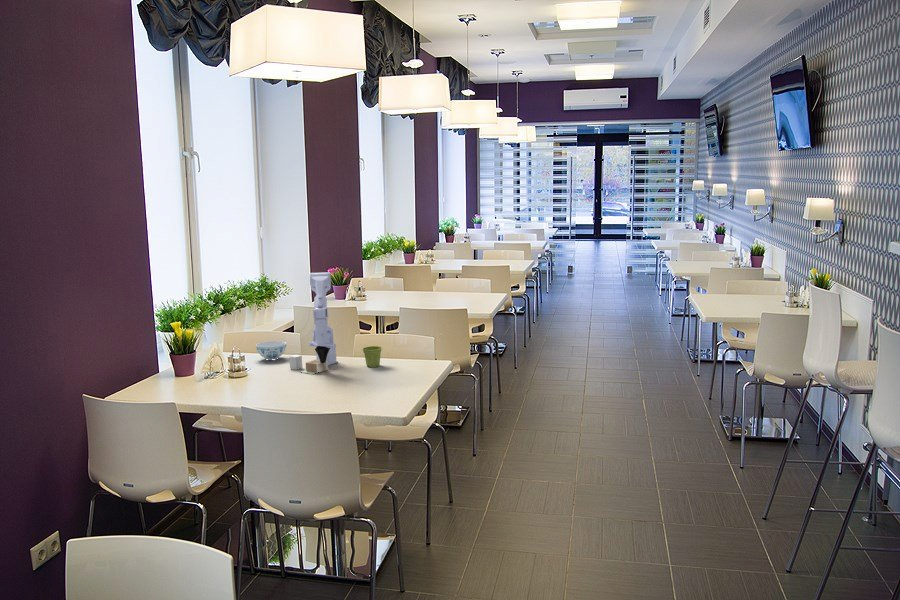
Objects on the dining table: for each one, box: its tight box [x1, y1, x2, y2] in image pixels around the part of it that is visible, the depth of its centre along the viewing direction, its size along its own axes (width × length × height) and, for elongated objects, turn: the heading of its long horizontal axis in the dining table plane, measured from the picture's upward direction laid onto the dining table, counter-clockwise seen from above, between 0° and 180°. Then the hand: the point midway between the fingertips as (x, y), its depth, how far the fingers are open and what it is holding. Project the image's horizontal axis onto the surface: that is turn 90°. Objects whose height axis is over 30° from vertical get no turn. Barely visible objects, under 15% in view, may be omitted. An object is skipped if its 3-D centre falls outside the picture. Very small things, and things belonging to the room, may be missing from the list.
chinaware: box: [255, 340, 287, 360], centre depth 391 cm, size 15×15×8 cm
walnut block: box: [305, 359, 329, 374], centre depth 363 cm, size 7×4×7 cm
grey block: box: [289, 354, 303, 370], centre depth 369 cm, size 4×4×6 cm
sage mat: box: [300, 367, 330, 375], centre depth 364 cm, size 11×8×1 cm
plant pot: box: [361, 345, 383, 368], centre depth 370 cm, size 9×9×9 cm
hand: (323, 362), depth 360 cm, fingers closed
